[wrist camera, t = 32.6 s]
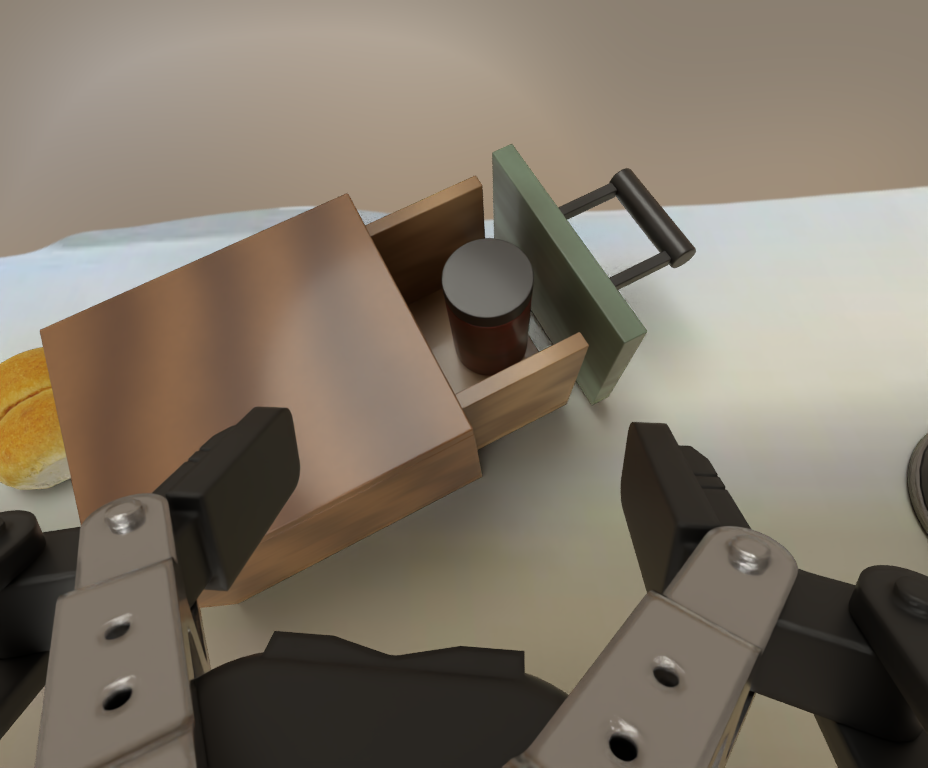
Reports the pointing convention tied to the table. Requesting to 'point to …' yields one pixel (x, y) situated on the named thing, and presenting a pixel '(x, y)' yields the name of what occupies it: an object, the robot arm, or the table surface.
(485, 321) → the red canister
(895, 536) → the table surface
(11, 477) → the bread roll
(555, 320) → the drawer
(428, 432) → the cabinet
